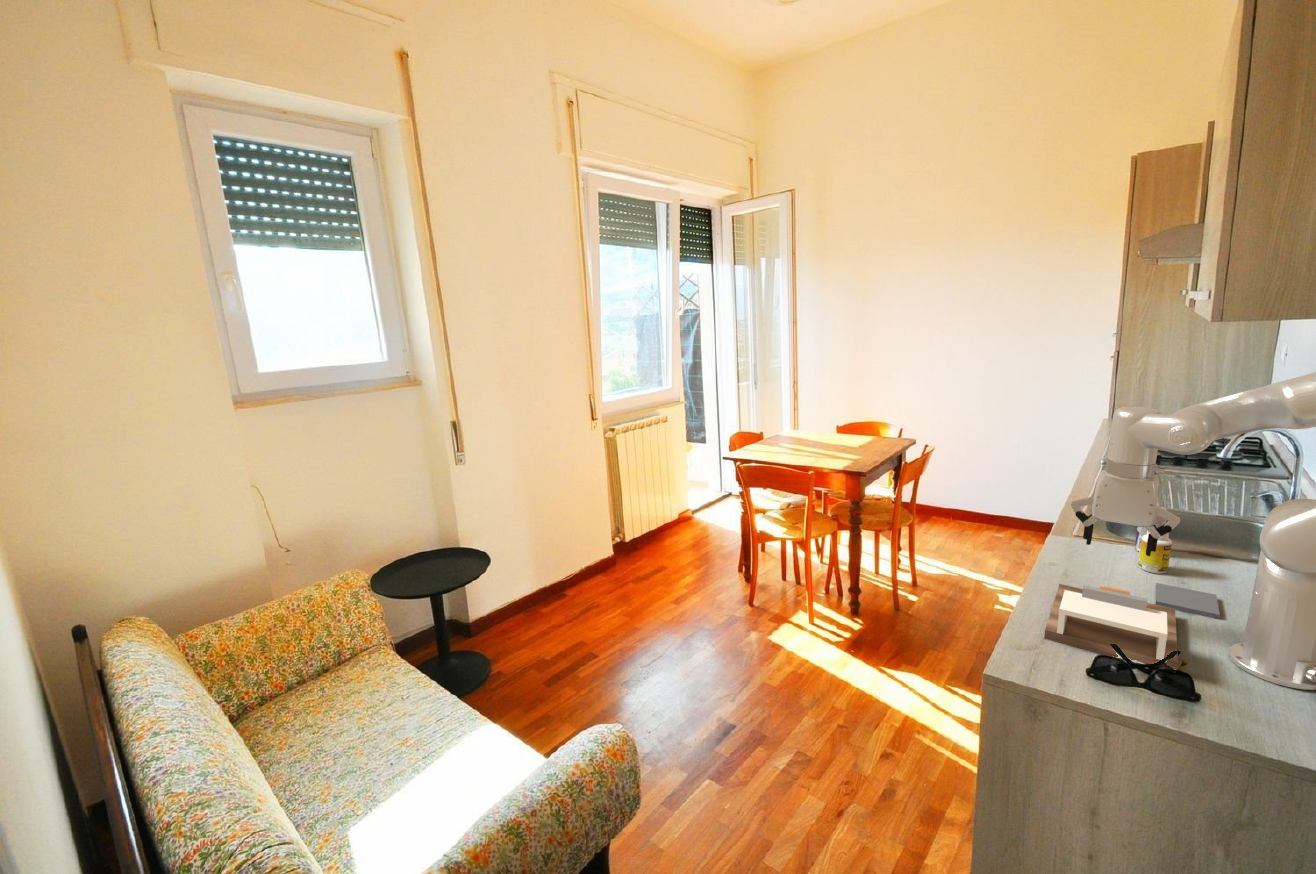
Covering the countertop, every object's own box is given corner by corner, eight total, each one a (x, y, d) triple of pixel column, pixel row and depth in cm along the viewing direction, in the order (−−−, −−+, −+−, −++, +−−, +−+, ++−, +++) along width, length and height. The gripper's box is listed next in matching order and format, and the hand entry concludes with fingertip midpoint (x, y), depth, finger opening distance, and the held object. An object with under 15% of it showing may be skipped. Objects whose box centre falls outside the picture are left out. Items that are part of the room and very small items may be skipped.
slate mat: (1215, 598, 126) (1216, 594, 126) (1219, 619, 119) (1219, 614, 119) (1155, 586, 133) (1156, 582, 132) (1155, 605, 125) (1156, 601, 125)
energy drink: (1151, 547, 152) (1157, 504, 149) (1166, 556, 146) (1173, 511, 144) (1129, 547, 152) (1135, 505, 149) (1144, 556, 147) (1150, 512, 144)
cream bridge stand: (1062, 612, 121) (1065, 581, 119) (1163, 637, 110) (1168, 603, 109) (1056, 632, 114) (1060, 599, 112) (1163, 660, 104) (1168, 624, 102)
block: (1097, 609, 125) (1100, 584, 124) (1126, 616, 122) (1130, 591, 121) (1095, 620, 121) (1098, 594, 120) (1126, 627, 118) (1129, 601, 117)
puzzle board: (1058, 591, 133) (1059, 583, 133) (1173, 617, 120) (1175, 608, 120) (1044, 638, 116) (1045, 629, 116) (1176, 674, 103) (1177, 664, 103)
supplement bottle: (1162, 576, 137) (1168, 536, 134) (1134, 568, 141) (1139, 530, 139) (1171, 569, 140) (1177, 530, 137) (1142, 562, 144) (1148, 524, 142)
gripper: (1187, 470, 112) (1173, 551, 116) (1078, 458, 122) (1068, 532, 127) (1189, 481, 106) (1173, 565, 110) (1074, 467, 117) (1064, 544, 121)
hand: (1117, 548), depth 118 cm, fingers open, 9 cm apart
